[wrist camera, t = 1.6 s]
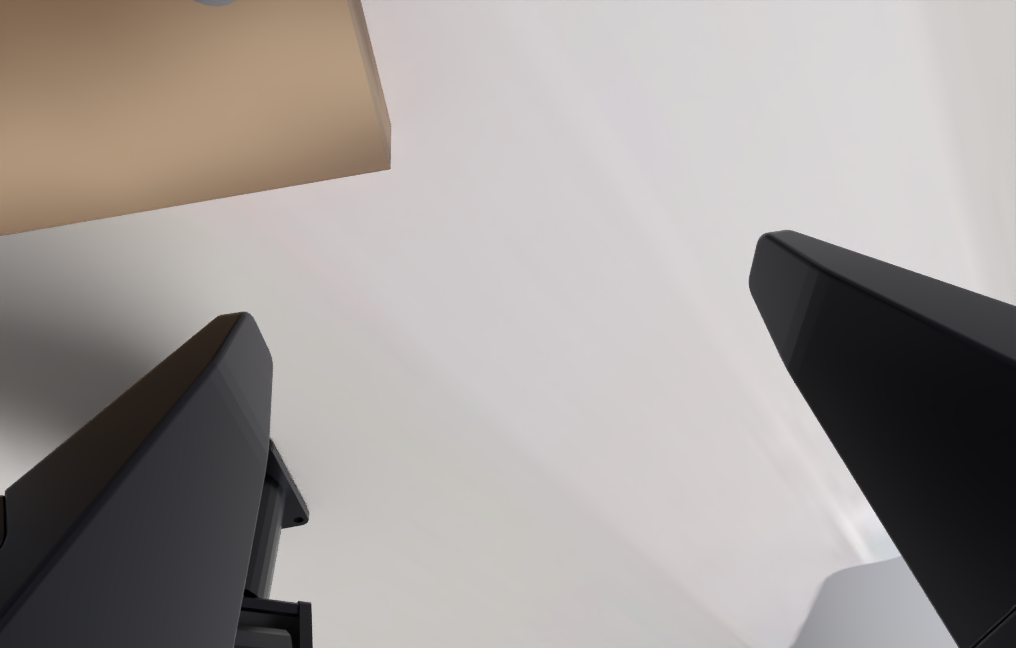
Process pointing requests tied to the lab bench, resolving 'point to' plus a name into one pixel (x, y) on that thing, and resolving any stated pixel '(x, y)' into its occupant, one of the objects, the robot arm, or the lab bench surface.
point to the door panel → (179, 103)
